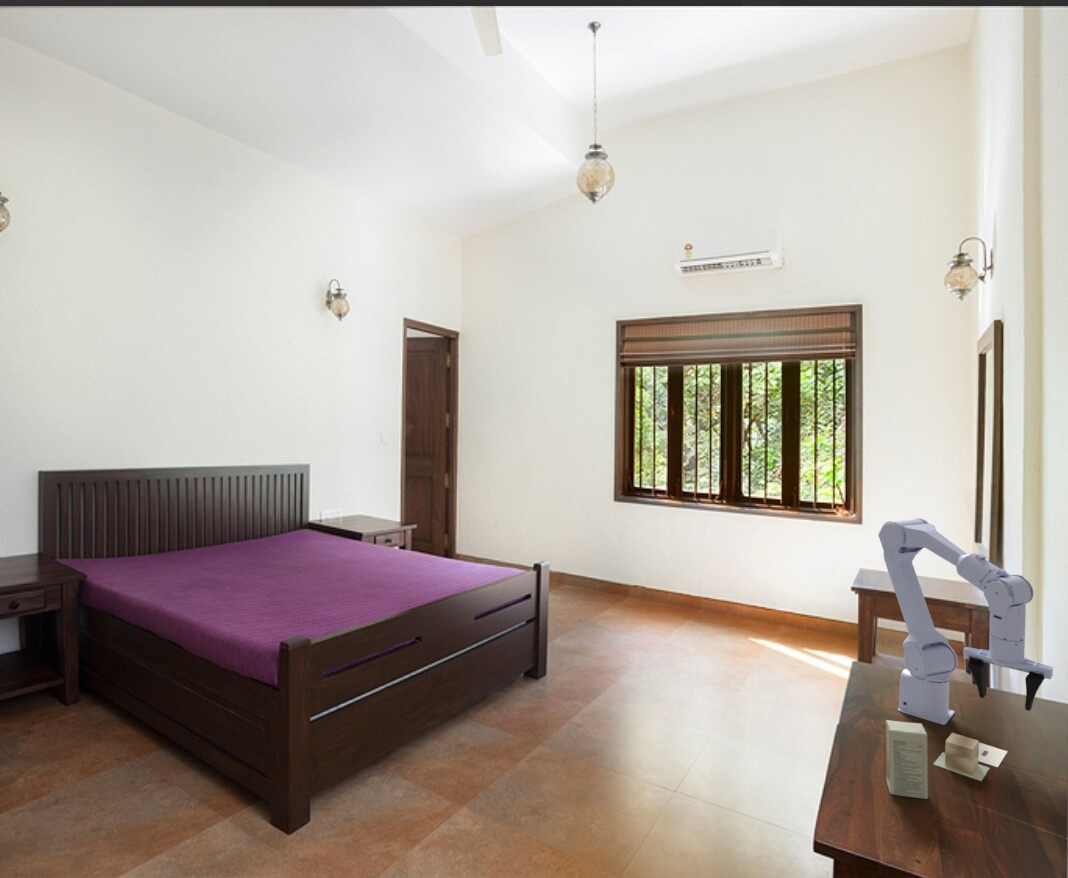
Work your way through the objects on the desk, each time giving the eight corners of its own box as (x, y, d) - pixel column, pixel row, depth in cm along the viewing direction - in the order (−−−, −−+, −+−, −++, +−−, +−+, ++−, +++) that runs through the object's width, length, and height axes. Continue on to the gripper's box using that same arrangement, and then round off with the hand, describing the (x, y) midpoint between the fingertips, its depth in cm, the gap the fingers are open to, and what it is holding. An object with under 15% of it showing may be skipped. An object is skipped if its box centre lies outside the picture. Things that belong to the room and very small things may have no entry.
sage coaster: (933, 765, 129) (933, 764, 129) (942, 753, 133) (942, 752, 133) (981, 782, 123) (981, 780, 123) (989, 769, 128) (989, 767, 128)
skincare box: (922, 786, 122) (924, 723, 122) (928, 800, 118) (929, 734, 118) (884, 781, 125) (885, 718, 124) (888, 794, 120) (889, 729, 120)
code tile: (950, 752, 134) (950, 751, 134) (961, 737, 139) (961, 736, 139) (997, 768, 128) (997, 767, 128) (1007, 752, 133) (1007, 751, 133)
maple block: (944, 765, 129) (945, 741, 128) (951, 756, 132) (952, 732, 131) (971, 775, 125) (972, 749, 125) (978, 765, 128) (978, 740, 128)
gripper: (959, 632, 135) (957, 696, 135) (1048, 651, 124) (1045, 721, 125) (969, 623, 139) (967, 686, 140) (1055, 641, 129) (1053, 709, 129)
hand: (1005, 702), depth 133 cm, fingers open, 7 cm apart
